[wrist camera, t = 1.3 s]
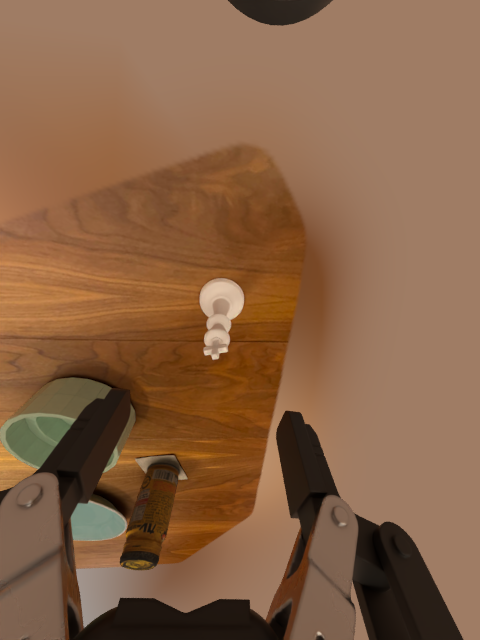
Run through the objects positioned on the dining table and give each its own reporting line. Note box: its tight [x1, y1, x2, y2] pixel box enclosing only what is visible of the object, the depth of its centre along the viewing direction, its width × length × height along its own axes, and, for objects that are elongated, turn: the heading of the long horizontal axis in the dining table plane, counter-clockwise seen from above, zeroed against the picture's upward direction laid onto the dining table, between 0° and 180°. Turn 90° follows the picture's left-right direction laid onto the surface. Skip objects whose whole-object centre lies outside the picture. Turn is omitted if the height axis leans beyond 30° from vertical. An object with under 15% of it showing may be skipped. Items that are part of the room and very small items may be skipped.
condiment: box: [120, 455, 187, 570], centre depth 34 cm, size 7×8×12 cm
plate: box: [71, 494, 127, 541], centre depth 45 cm, size 22×22×3 cm
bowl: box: [0, 377, 136, 473], centre depth 29 cm, size 13×13×6 cm
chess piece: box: [199, 278, 244, 360], centre depth 19 cm, size 5×5×10 cm
